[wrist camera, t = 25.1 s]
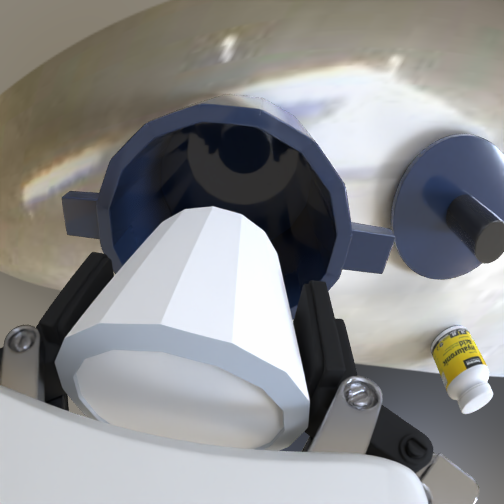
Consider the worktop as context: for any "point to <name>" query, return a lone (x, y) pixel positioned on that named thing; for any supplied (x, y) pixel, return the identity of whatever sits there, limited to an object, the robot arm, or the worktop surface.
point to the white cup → (193, 339)
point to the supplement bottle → (462, 368)
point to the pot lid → (451, 207)
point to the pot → (232, 190)
